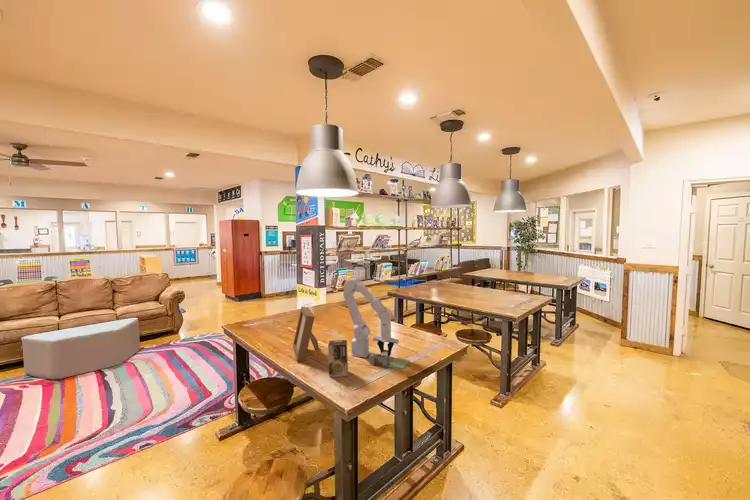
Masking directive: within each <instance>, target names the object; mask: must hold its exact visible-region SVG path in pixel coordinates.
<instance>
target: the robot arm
mask: <svg viewBox="0 0 750 500" xmlns="http://www.w3.org/2000/svg"><path fill="white" fill-rule="evenodd" d="M355 293H360V294H361V295H362V296H363V297H364V298H365V299H367V300H368V301H369V304H370V307H371V309H373V310H374V311H375V312H376V314H378V318H379V320H380V336H373V338H372V341H373V342H375V341H376V342H377V343H376V344H377V345H378V348H379V350H380V354H381V353H382V351H383V350H385V343H387V350H388V356H390V357H391V355H392V350H393V348H394V347H393V346H394V345H395V344H396V345H398V344H399V343H400V342H399V340H400V339H396V338H393V337H392V322H391V320H392V319H391V317H392V314H393V313H392V309H390V308H388V307H387V306H385V304H384V303H383V302H382V300H381V299H379V298H376V297H375V296H374V295H373V294H372V293H371V292H370V291H369V289H368V288H367V286H366V285H365V284H364V282H363V280H361V279H360V277H357V276H354V277H352V278H350V279H346V280H345V282H344V284H343V299H344V301H345V303H346V306H347V309H348V311H349V315H350V317H351V320H352V323H353V336H354V337H353V338H352V340H351V349H350V350H351V354H350V356H352V357H354V356H355V357H360V358H365V359H366V358H367V357H368V356H369V355H370V354H371V353H372V351H370V348H369V346H370V345H369V344H370V342H369V335H370V331H371V330H370V327H369V326H368V325H367V323H366V322H365V321H364V320H363V318H362V315H361V312H360V310H359V307H358V304H357V302H356V298H355V296H354V295H355Z"/></svg>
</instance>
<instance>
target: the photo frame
mask: <svg viewBox="0 0 750 500" xmlns="http://www.w3.org/2000/svg"><path fill="white" fill-rule="evenodd" d="M314 322H315V314H313V312H312V310H311V309H310V307H307V306H301V307H300V312H299V316H298V321H297V326H296V329H295V330H296V331H295V334H294V339H293V342H292V348H293V351H294V355H295V358H296V361H301V362H305V361H306V357H307V354H308V349H309V344H310V341H311V343H312V346H313V348H314V350H315V351H317V350H318V348H319V342H318V339H317V338H316V336H315V335H314V334H313V332H312V331H313V330H312V329H313V325H314Z"/></svg>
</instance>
